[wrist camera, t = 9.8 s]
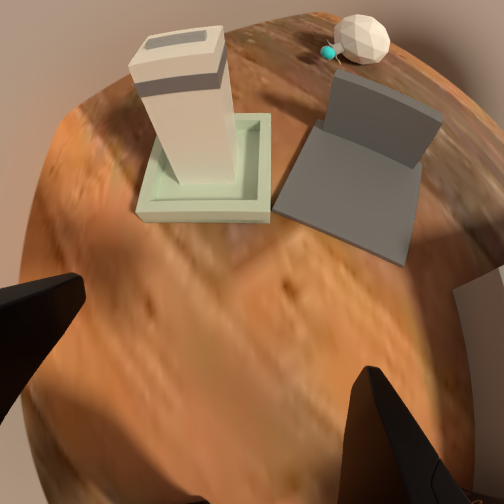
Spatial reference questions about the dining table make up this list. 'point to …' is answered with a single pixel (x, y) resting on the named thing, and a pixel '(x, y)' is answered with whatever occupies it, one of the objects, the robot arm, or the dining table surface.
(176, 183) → the tray
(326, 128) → the dock
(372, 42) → the perfume bottle
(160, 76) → the banded cream pillar
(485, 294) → the box
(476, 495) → the coffee mug
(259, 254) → the dining table surface
